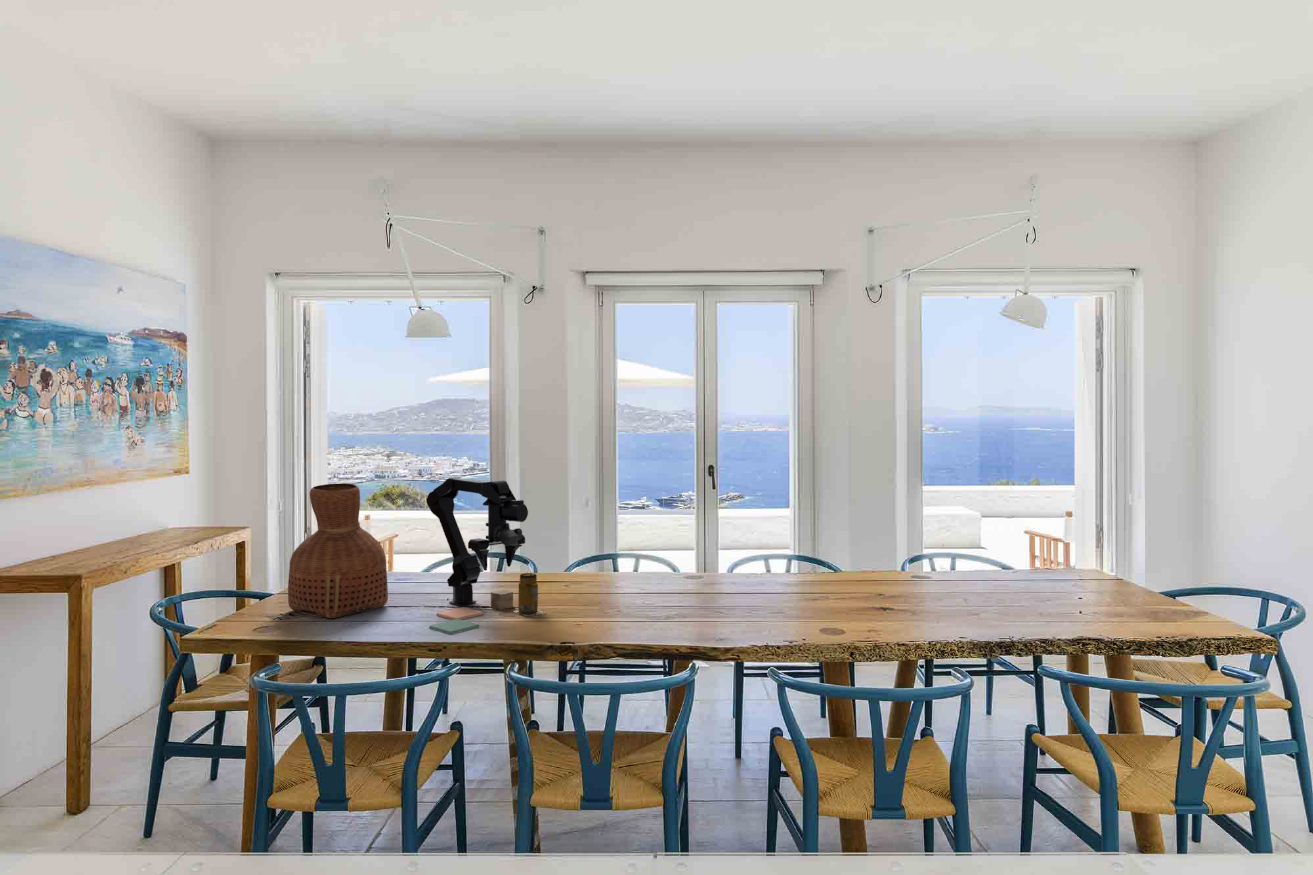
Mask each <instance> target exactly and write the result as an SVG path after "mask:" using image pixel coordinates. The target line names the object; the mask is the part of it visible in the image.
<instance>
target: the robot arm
mask: <svg viewBox="0 0 1313 875" xmlns="http://www.w3.org/2000/svg"><path fill="white" fill-rule="evenodd" d="M459 491H460V492H464V493H465V492H467V493H473V494H477V495H478V494H479V495H481V497H483V498H485V499H486V500H485V501H484V502H483V503H482V506H487V511H488V512H487V522H485V527H487V535H485V538H478V537H477V538H471V539H469V541H468V543H467V545H466V543H465V541H464V538H463V536H462V533H461V530H460V528H459V525H458V523H457V522H458V521H457V520H456V517H455V515H454V510H455V501H454V500H455V499H456V497H458V495H459ZM426 497H427V498H426V504H427V507H428V508H429V510H430V512H431V513H432V514H433V515H434V516H435V517H436V518H437V519H438V521H439V523H440V525H441V526H440V527H441V528H442V532H443V533H444V536H445V539H446V541H447V544H448V547H449V549H450V552H451V555H452V557H453V558H452V559H453V560H452V564H451V565H452V566H451V568H452V573H451V575H449V578H448V579H447V581H446V582H447V585H448V587H452V600H451V601H449V602H448V604H450V605H456V606H459V607H464V606H467V605H472V604H476V603H477V600H474V599H473V598H474V592H473V584H476V583H478V579H479V577H480V573H481V567H482V569H483V571H487V570H488V554H489V552H490V549H488V548H489V547H490V546H494V545H495V546H496V545H504V551H505V561H506V565H507V567H511V566H512V562H513V560H514V557H515V555H516V552H517V550H518V549H519V548H520V547H522V546H523V544H526V537H525V535H524V534H523V530H522V529H521V528H519V527H518V528H517V527H516V528H514V529H511V527H510V523H509V522H517V523H518V522H519V523H523V522H525V521H526V520H527V518H528V516H529V510H528V508H527V505H526V504H524V503H525V501H524V499H519V500H517V498H516V497H515V495H514V493H513V491H512V490H511V488H510V486H509V483H508V482H507V481H506V480H491V481H480V480H475V479H467V478H461V477H457V476H456V477H448V478H447V479H446V480H445V481H443V483H441V484H440V485H438V486H437V487H436V488H434V489H433V490H432V491H430V492H429V493H428V495H427V496H426ZM468 549H469V550H471V551H472V552H474V553H475V554H473V555H471V553H469V551H468Z"/></svg>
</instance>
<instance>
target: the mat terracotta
mask: <svg viewBox="0 0 1313 875" xmlns="http://www.w3.org/2000/svg"><path fill="white" fill-rule="evenodd" d="M435 614H436V616H437V617H440V618H443V619H444V618H445V619H448V620H450V621H451V620H455V619H461V620H465V619H469V618H470V619H471V618H475V617H479V616H482V615H483V616H484V612H483V611H480V610H476V609H473V608H469V607H464V606H460V607H458V608H453V609H452V608H451V609H447V610H444V611H439V612H436V613H435Z"/></svg>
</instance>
